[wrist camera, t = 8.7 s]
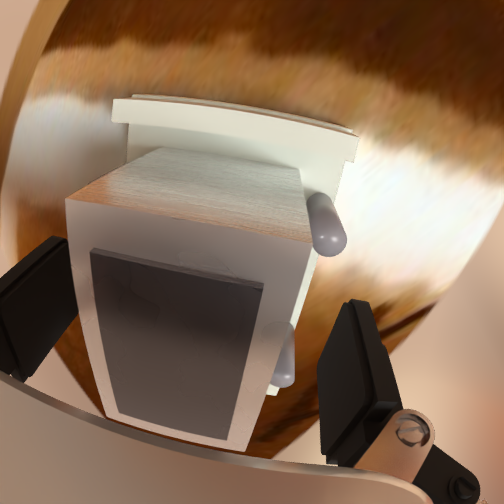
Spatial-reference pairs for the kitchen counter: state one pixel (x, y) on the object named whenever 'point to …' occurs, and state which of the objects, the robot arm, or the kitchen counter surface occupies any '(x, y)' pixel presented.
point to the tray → (258, 149)
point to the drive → (188, 288)
